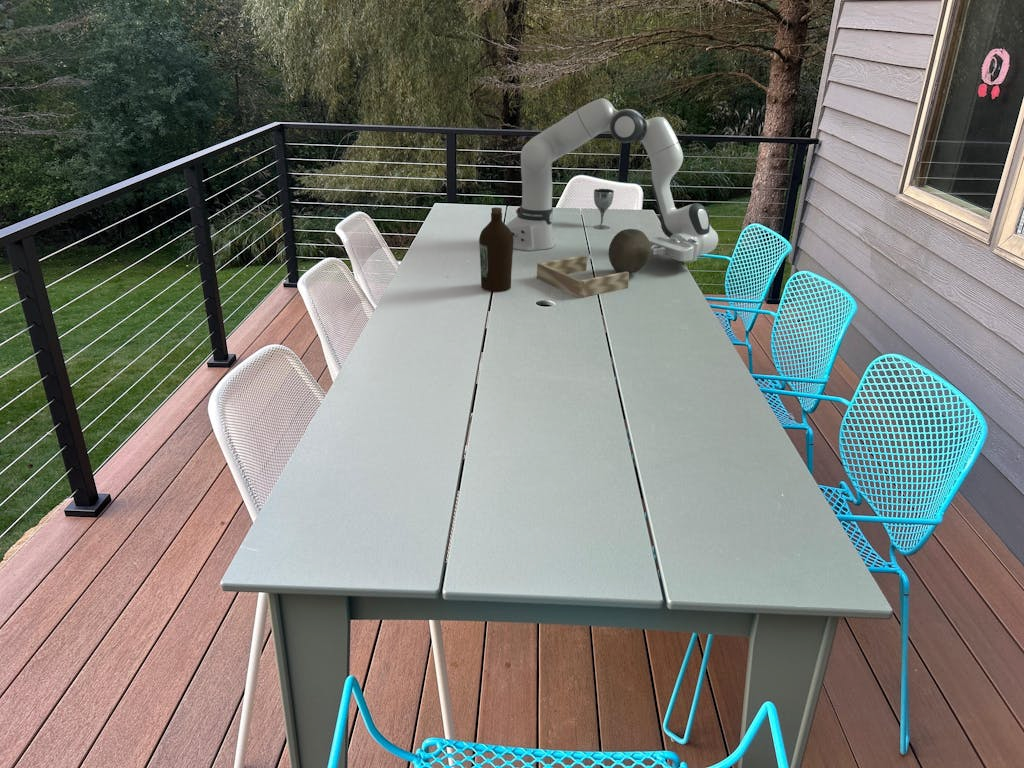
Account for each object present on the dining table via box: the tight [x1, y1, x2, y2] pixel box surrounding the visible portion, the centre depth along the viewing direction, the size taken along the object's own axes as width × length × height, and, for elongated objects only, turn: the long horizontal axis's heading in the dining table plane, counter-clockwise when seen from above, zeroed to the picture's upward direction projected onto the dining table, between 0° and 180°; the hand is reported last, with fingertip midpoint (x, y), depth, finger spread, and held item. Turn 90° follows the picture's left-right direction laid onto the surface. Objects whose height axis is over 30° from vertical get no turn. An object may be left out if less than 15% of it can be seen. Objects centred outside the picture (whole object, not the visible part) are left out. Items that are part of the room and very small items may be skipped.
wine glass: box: [592, 188, 615, 230], centre depth 313 cm, size 8×8×15 cm
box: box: [536, 254, 630, 299], centre depth 247 cm, size 20×23×5 cm
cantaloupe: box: [608, 228, 652, 275], centre depth 255 cm, size 14×14×15 cm
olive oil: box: [478, 207, 514, 293], centre depth 237 cm, size 11×11×25 cm
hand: (650, 251), depth 260 cm, fingers closed
